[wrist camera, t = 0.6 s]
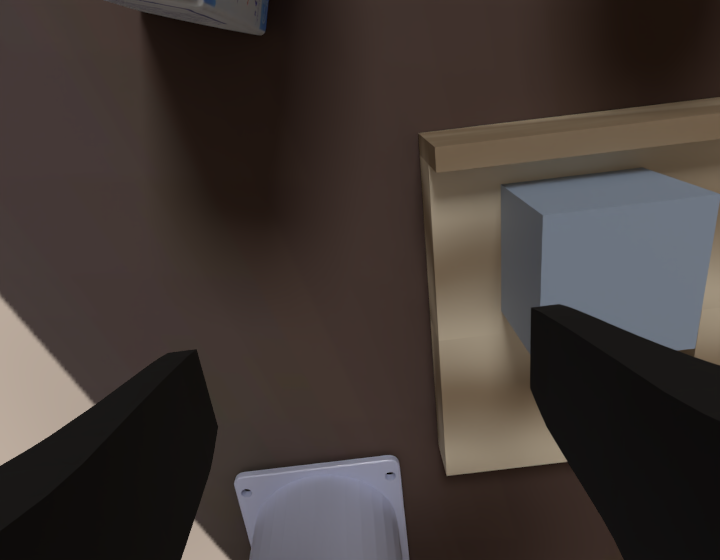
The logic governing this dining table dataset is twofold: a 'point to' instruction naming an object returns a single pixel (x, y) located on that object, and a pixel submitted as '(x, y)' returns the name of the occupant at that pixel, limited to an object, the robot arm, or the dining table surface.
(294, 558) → the robot arm
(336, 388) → the dining table surface
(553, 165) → the tray
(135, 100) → the dining table surface
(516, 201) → the slate block
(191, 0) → the medicine box
